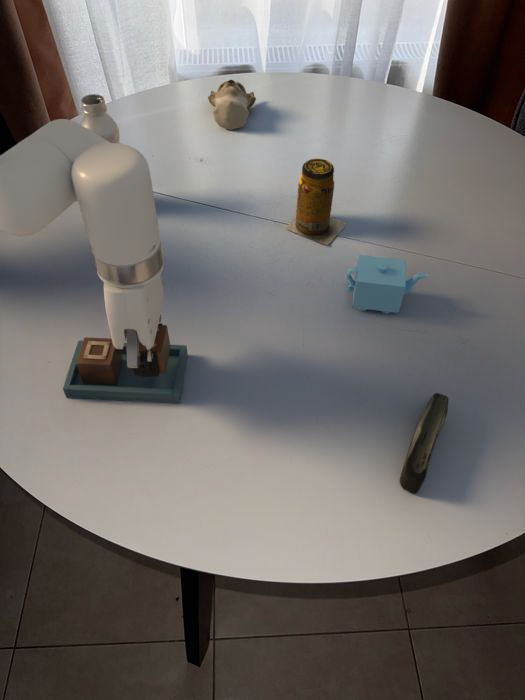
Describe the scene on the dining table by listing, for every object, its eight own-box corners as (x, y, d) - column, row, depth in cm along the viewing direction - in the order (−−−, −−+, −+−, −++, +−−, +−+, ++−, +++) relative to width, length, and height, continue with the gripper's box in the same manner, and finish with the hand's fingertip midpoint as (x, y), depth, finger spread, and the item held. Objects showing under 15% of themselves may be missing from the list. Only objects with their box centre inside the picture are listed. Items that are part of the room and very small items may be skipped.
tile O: (83, 384, 80) (75, 362, 76) (91, 358, 83) (83, 336, 79) (116, 385, 80) (110, 364, 76) (123, 359, 83) (117, 337, 79)
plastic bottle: (118, 220, 104) (96, 114, 89) (89, 208, 106) (62, 102, 91) (140, 201, 108) (122, 96, 92) (112, 190, 110) (89, 85, 94)
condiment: (305, 208, 107) (311, 150, 98) (346, 224, 104) (355, 166, 95) (285, 229, 103) (288, 170, 94) (326, 246, 101) (334, 187, 91)
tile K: (131, 372, 77) (125, 349, 74) (137, 345, 80) (132, 322, 77) (165, 373, 77) (161, 350, 74) (170, 347, 80) (166, 323, 77)
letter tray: (66, 397, 79) (62, 388, 78) (81, 349, 85) (78, 340, 83) (179, 403, 79) (178, 394, 77) (187, 354, 85) (186, 345, 83)
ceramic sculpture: (203, 93, 116) (207, 64, 126) (205, 134, 123) (209, 103, 133) (256, 95, 116) (256, 65, 127) (255, 136, 123) (255, 105, 133)
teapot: (418, 292, 94) (429, 257, 88) (419, 319, 90) (430, 284, 84) (343, 283, 95) (350, 248, 89) (341, 310, 91) (348, 274, 85)
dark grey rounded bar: (428, 481, 67) (456, 384, 76) (403, 471, 68) (433, 376, 76) (418, 499, 71) (446, 404, 79) (395, 489, 72) (424, 397, 80)
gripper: (111, 208, 70) (134, 312, 84) (76, 309, 59) (110, 409, 73) (173, 211, 70) (186, 314, 84) (149, 312, 59) (169, 412, 73)
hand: (150, 357), depth 79 cm, fingers closed on tile K, 4 cm apart
